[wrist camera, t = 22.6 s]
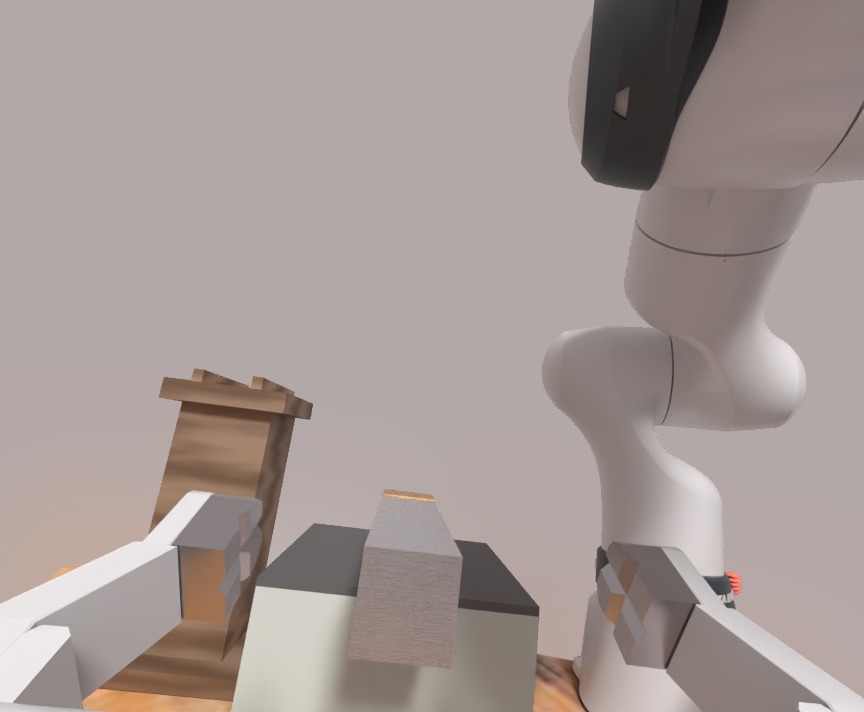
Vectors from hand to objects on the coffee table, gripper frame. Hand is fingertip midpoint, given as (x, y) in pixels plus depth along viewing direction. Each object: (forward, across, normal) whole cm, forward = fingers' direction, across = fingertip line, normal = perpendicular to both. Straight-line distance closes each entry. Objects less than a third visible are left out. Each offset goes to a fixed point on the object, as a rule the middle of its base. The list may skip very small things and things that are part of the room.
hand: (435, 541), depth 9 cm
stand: (+22, +19, +36) cm, 47 cm away
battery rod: (+12, 0, +14) cm, 19 cm away
